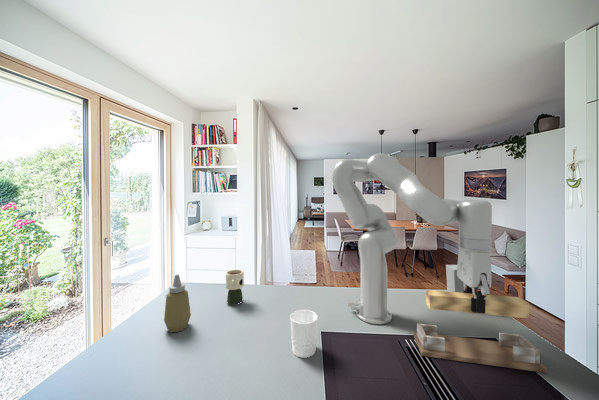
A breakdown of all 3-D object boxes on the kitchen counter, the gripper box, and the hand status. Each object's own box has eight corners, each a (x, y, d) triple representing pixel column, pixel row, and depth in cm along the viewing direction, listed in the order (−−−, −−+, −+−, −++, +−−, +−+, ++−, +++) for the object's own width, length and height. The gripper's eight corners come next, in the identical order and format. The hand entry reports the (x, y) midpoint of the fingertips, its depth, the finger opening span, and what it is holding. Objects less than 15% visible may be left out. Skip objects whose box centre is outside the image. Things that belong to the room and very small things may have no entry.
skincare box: (473, 311, 93) (474, 270, 92) (453, 309, 94) (453, 269, 94) (463, 301, 101) (464, 264, 101) (444, 300, 102) (445, 263, 102)
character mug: (242, 309, 95) (241, 276, 95) (223, 309, 94) (223, 276, 94) (245, 297, 106) (245, 267, 105) (228, 297, 105) (228, 268, 105)
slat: (429, 309, 69) (430, 295, 69) (425, 302, 73) (426, 289, 73) (529, 318, 64) (529, 303, 64) (519, 311, 68) (519, 297, 68)
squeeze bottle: (196, 324, 84) (195, 273, 83) (175, 337, 76) (174, 280, 76) (179, 319, 87) (179, 269, 87) (158, 331, 80) (157, 277, 79)
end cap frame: (421, 355, 68) (421, 339, 67) (413, 335, 77) (413, 320, 77) (546, 373, 61) (547, 354, 61) (520, 348, 71) (520, 332, 71)
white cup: (309, 363, 65) (309, 326, 64) (284, 353, 69) (284, 318, 68) (322, 347, 71) (322, 314, 71) (299, 339, 75) (299, 307, 75)
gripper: (448, 238, 77) (448, 295, 78) (473, 250, 61) (472, 322, 61) (475, 239, 76) (474, 297, 76) (508, 251, 59) (507, 325, 60)
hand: (474, 307), depth 69 cm, fingers closed on slat, 4 cm apart
